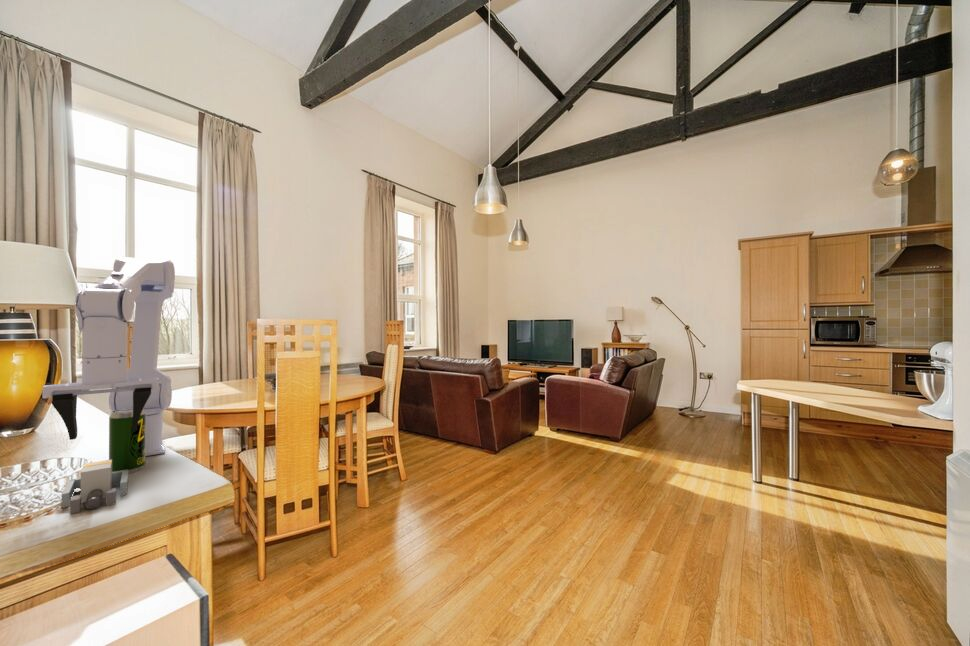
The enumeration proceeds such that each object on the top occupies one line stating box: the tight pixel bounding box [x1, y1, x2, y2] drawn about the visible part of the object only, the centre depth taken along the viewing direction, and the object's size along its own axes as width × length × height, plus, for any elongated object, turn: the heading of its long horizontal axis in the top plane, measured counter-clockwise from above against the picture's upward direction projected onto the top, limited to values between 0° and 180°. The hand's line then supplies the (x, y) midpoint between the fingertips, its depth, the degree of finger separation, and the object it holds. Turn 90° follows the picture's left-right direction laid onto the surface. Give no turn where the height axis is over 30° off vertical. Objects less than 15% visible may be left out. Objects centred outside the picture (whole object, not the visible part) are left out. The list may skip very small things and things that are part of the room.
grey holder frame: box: [61, 469, 129, 515], centre depth 66 cm, size 11×8×2 cm
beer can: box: [108, 408, 146, 474], centre depth 77 cm, size 5×5×12 cm
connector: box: [80, 459, 113, 510], centre depth 65 cm, size 10×4×5 cm, turn 41°
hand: (104, 433), depth 69 cm, fingers open, 7 cm apart
